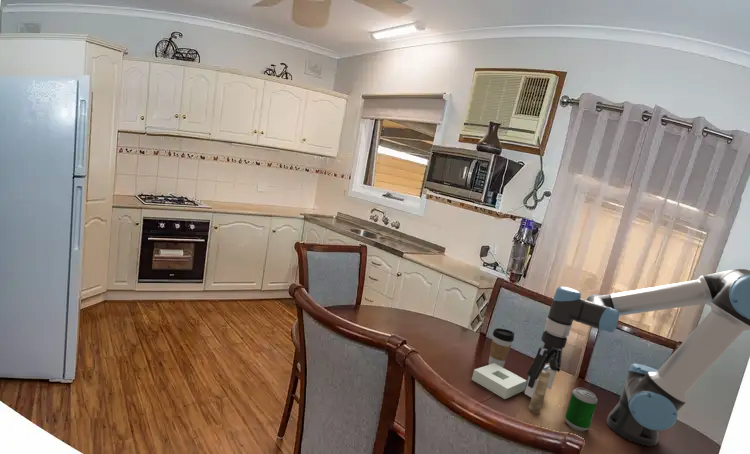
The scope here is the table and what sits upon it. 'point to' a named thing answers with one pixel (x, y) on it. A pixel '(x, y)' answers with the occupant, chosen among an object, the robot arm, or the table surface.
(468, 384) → the table surface
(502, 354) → the coffee cup
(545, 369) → the square peg
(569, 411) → the soda can
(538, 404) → the oak dowel
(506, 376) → the socket block
